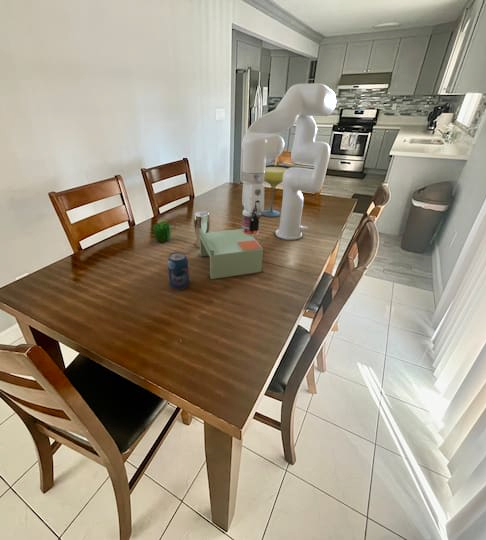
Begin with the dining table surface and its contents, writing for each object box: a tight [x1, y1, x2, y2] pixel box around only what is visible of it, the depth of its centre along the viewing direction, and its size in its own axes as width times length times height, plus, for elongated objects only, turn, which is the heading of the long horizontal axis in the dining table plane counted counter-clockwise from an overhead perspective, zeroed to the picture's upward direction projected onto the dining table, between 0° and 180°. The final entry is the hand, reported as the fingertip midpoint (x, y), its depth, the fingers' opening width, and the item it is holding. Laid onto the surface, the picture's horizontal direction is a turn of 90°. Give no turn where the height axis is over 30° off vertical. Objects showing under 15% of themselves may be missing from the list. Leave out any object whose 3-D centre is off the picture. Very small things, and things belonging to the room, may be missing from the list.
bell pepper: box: [152, 219, 172, 243], centre depth 136 cm, size 8×8×10 cm
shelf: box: [199, 228, 264, 280], centre depth 117 cm, size 20×20×12 cm
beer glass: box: [193, 210, 211, 249], centre depth 130 cm, size 7×7×15 cm
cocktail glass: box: [261, 164, 291, 218], centre depth 163 cm, size 18×18×25 cm
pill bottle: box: [241, 203, 260, 237], centre depth 106 cm, size 6×6×11 cm
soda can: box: [167, 251, 190, 291], centre depth 103 cm, size 7×7×12 cm
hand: (250, 226), depth 107 cm, fingers closed on pill bottle, 6 cm apart
